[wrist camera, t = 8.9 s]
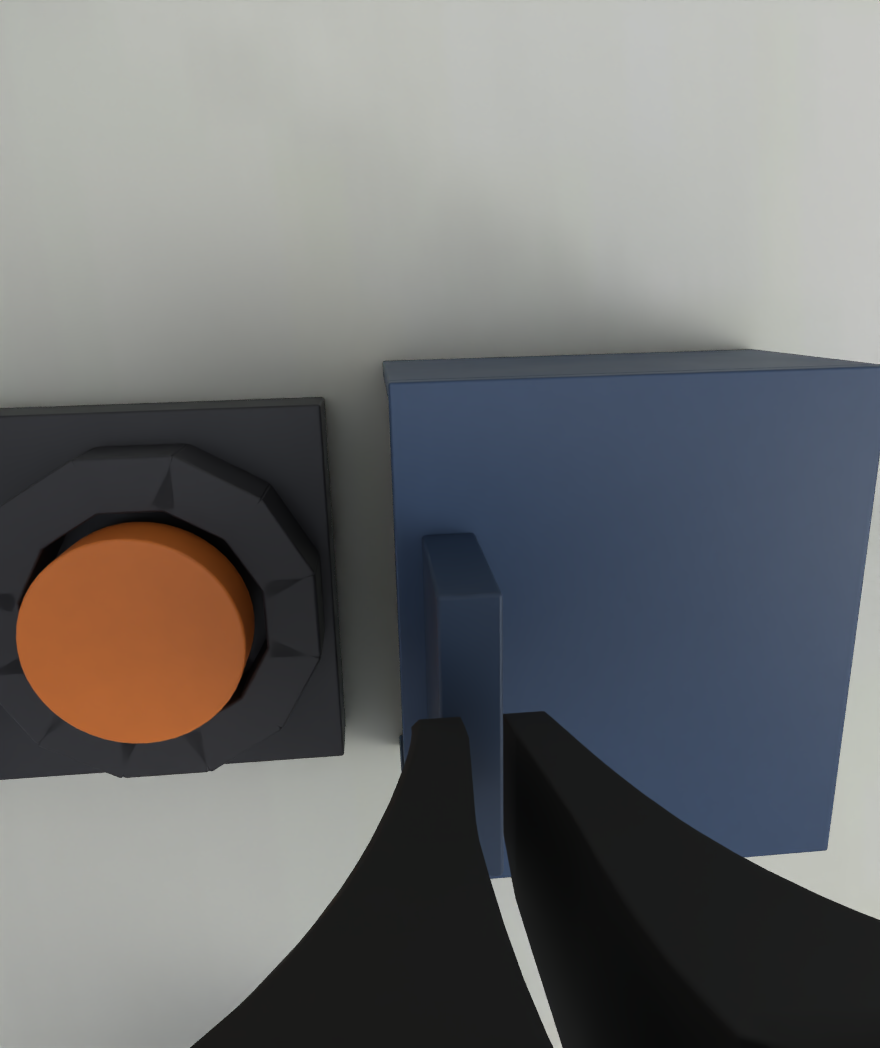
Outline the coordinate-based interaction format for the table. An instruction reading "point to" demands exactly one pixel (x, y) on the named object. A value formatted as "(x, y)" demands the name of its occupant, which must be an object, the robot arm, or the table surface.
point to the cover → (640, 571)
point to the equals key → (136, 632)
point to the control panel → (212, 514)
